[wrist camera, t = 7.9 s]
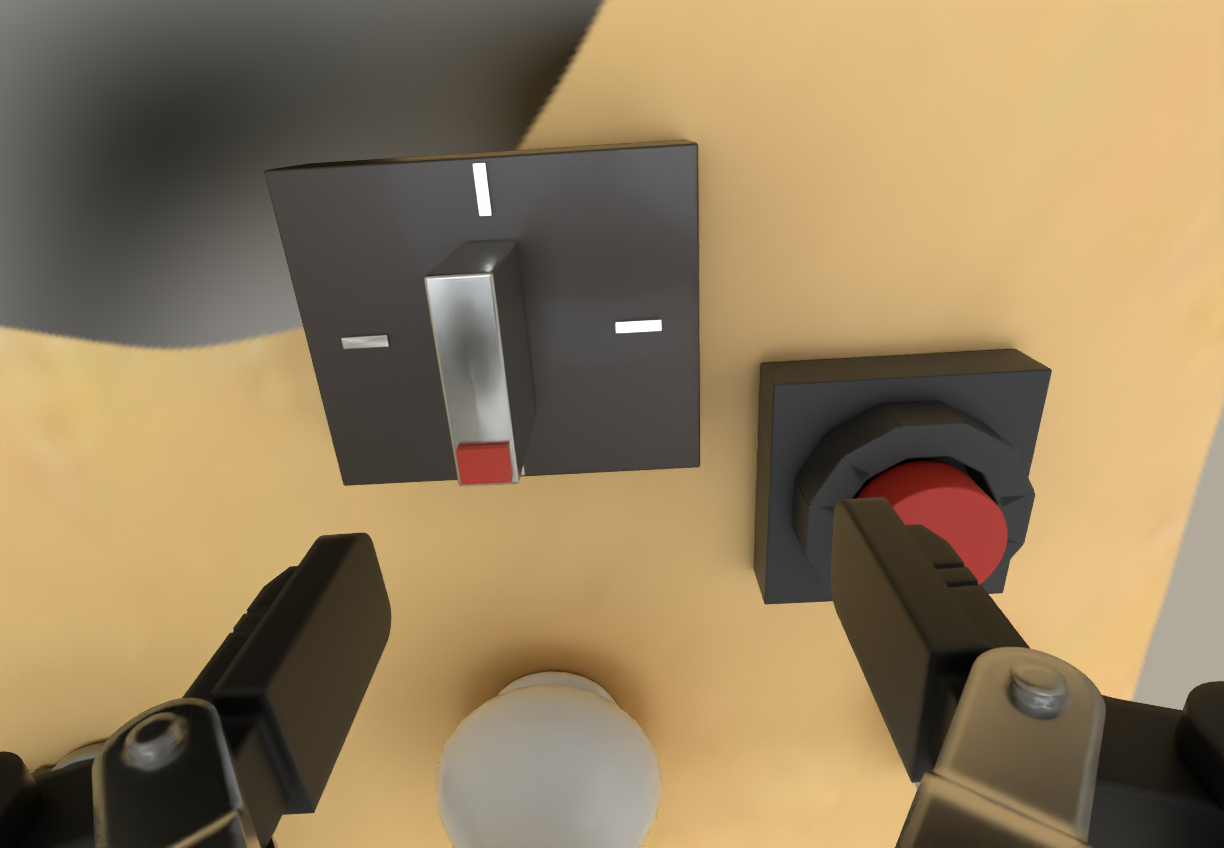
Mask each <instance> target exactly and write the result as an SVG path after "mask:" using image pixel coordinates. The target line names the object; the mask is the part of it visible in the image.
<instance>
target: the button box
mask: <svg viewBox="0 0 1224 848" xmlns="http://www.w3.org/2000/svg"><path fill="white" fill-rule="evenodd" d="M1051 372H1052V370H1051V369H1050V368H1048V367H1046V366H1044V365H1043V364H1041V363H1039V362H1038V361H1036V360H1034V359H1032V358H1031V357H1029V356H1027V355H1025V354H1024V353H1022V352H1020V351H1018V350H1017V349H1006V350H988V351H970V352H952V353H934V354H916V355H898V356H880V357H862V358H844V359H826V360H808V361H791V362H773V363H761V369H760V399H759V430H758V460H757V490H756V521H755V551H754V572H755V575H756V578H757V581H758V584H759V588H760V591H761V594H762V597H763V600H764V603H765V604H783V603H804V602H825V601H833V597H832V591H831V581H830V572H831V556H832V539H833V523H834V509H835V505H836V503H837V501H838V500H844V499H856V498H857V496H858V495H859V493H860V492H861V491H862V490H863V489H864V487H865V486H866V485H867V484H868V483H870V482H871V481H872V480H873V479H874V478H876V477H877V476H878V475H880V474H882V473H883V472H885V471H887V470H889V469H891V468H893V467H896V466H899V465H902V464H905V463H910V462H916V461H935V462H942V463H945V464H949V465H951V466H954V467H956V468H958V469H960V470H961V471H963V472H964V473H965V474H967V475H968V476H969V477H970V478H971V479H972V480H973V481H974V482H975V483H976V484H977V485H978V486H979V487H980V488H981V489H982V490H983V491H984V492H985V493H986V494H987V495H988V496H989V497H990V498H991V499H992V500H993V501H994V502H995V503H996V505H997V506H998V507H999V508H1000V510H1001V512H1002V513H1003V515H1004V518H1005V520H1006V525H1007V535H1008V538H1007V545H1006V548H1005V552H1004V554H1003V556H1002V559H1001V561H1000V562H999V564H998V566H997V567H996V568H995V570H994V571H993V572H992V573H991V575H990V576H989V577H988V578H987V579H986V580H985V581H983V582H982V583H981V584H980V585H982V587H983V588H984V589H985V590H986V592H987V593H988V594H994V593H1003V590H1004V585H1005V581H1006V576H1007V572H1008V567H1009V562H1010V559H1011V558H1012V557H1013V556H1014V554H1015V553H1016V552H1017V551H1018V550H1019V549H1020V548H1021V547H1022V546H1023V543H1024V542H1025V537H1026V533H1027V528H1028V524H1029V520H1030V515H1031V511H1032V507H1033V502H1034V498H1035V493H1034V489H1033V487H1032V485H1031V483H1030V480H1029V478H1028V476H1029V472H1030V467H1031V463H1032V458H1033V454H1034V449H1035V445H1036V440H1037V435H1038V431H1039V426H1040V422H1041V417H1042V413H1043V408H1044V404H1045V399H1046V395H1047V390H1048V386H1049V381H1050V376H1051Z"/></svg>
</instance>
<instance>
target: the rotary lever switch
mask: <svg viewBox="0 0 1224 848" xmlns="http://www.w3.org/2000/svg"><path fill="white" fill-rule="evenodd" d="M265 177H266V180H267V185H268V189H269V193H270V197H271V201H272V204H273V209H274V212H275V216H276V220H277V224H278V228H279V232H280V236H281V240H282V244H283V248H284V252H285V256H286V259H287V264H288V268H289V272H290V275H291V279H292V283H293V287H294V291H295V295H296V299H297V303H298V307H299V311H300V315H301V318H302V323H303V327H304V331H305V335H306V338H307V342H308V346H309V350H310V354H311V358H312V362H313V366H314V370H315V374H316V378H317V382H318V386H319V390H320V394H321V398H322V401H323V405H324V409H325V413H326V417H327V421H328V425H329V429H330V433H331V437H332V441H333V445H334V449H335V453H336V457H337V461H338V465H339V468H340V472H341V476H342V480H343V484H344V485H345V486H347V485H366V484H385V483H404V482H423V481H443V480H458V477H457V471H456V465H455V459H454V453H453V447H452V441H451V436H450V430H449V424H448V418H447V412H446V406H445V400H444V394H443V388H442V382H441V377H440V371H439V365H438V359H437V353H436V347H435V341H434V335H433V329H432V323H431V318H430V312H429V306H428V300H427V294H426V288H425V282H424V277H425V276H426V275H427V274H428V273H429V272H430V271H431V270H433V269H434V268H435V267H436V266H437V265H438V264H440V263H441V262H442V261H443V260H444V259H445V258H447V257H448V256H449V255H450V254H451V253H452V252H454V251H455V250H456V249H457V248H458V247H459V246H461V245H462V244H463V243H470V242H488V241H505V240H516V241H517V243H518V250H519V260H520V269H521V278H522V287H523V296H524V305H525V314H526V323H527V332H528V341H529V350H530V359H531V368H532V377H533V387H534V396H535V405H536V418H535V422H534V426H533V429H532V433H531V437H530V441H529V445H528V449H527V453H526V457H525V461H524V465H523V469H522V473H521V476H538V475H557V474H577V473H596V472H615V471H634V470H653V469H672V468H691V467H700V353H699V192H698V144H697V143H695V142H691V141H688V140H670V141H654V142H639V143H623V144H607V145H592V146H576V147H560V148H545V149H529V150H513V151H498V152H482V153H467V154H451V155H435V156H420V157H404V158H389V159H373V160H357V161H342V162H325V163H310V164H303V165H296V166H290V167H283V168H277V169H271V170H266V171H265Z"/></svg>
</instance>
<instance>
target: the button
mask: <svg viewBox="0 0 1224 848" xmlns="http://www.w3.org/2000/svg"><path fill="white" fill-rule="evenodd" d="M872 497H885V498H886V499H887V500H888V501H889V503H890V504H891V505H892V507H893V508H894V510H895V511H896V513H897V514H898V515H899V517H900V518H901V520H902V521H903V523H904V524H905V525H915V524H922V525H923V526H925V527H926V528H928V529H929V530H931V531H932V532H934V533H935V534H937V535H939V536H940V537H942V538H943V539H945V540H946V541H948V542H949V544H950V545H951V546H952V548H953V549H954V550H955V551H956V553H957V554H958V555H959V557H960V558H961V559H962V561H963V562H964V566H965V567H968V568H969V570H970V571H971V572H972V574H973V575H974V576H975V577H976V579H977V580H978V585H980V584H981V583H982V582H983V581H985V580H986V579H987V578H988V577H989V576H990V575H991V573H992V572H993V571H994V570H995V568H996V567H997V566H998V564H999V562H1000V561H1001V559H1002V556H1003V554H1004V552H1005V548H1006V545H1007V538H1008V535H1007V525H1006V520H1005V518H1004V515H1003V513H1002V512H1001V510H1000V508H999V507H998V506H997V505H996V503H995V502H994V501H993V500H992V499H991V498H990V497H989V496H988V495H987V494H986V493H985V492H984V491H983V490H982V489H981V488H980V487H979V486H978V485H977V484H976V483H975V482H974V481H973V480H972V479H971V478H970V477H969V476H968V475H967V474H965V473H964V472H963V471H961V470H960V469H958V468H956V467H954V466H951V465H949V464H945V463H942V462H935V461H916V462H910V463H905V464H902V465H899V466H896V467H893V468H891V469H889V470H887V471H885V472H883V473H882V474H880V475H878V476H877V477H876V478H874V479H873V480H872V481H871V482H870V483H868V484H867V485H866V486H865V487H864V489H863V490H862V491H861V492H860V493H859V495H858V496H857V498H856V499H858V498H872Z"/></svg>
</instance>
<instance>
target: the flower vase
mask: <svg viewBox="0 0 1224 848" xmlns="http://www.w3.org/2000/svg"><path fill="white" fill-rule="evenodd" d="M661 779H662V777H661V771H660V767H659V763H658V759H657V755H656V751H655V749H654V747H653V745H652V743H651V742H650V740H649V739H648V737H647V736H646V734H645V733H644V731H643V730H642V728H641V727H640V726H639V724H638V723H637V722H636V721H635V720H634V719H633V718H632V717H631V716H630V715H628V714H627V713H626V712H625V711H624V710H622V709H621V708H620V707H619V706H618V705H617V704H616V702H615V701H614V699H613V698H612V696H611V695H610V693H608V692H607V691H606V690H605V689H604V688H602V687H601V686H600V685H599V684H597V683H595V682H593V681H591V680H589V679H587V678H585V677H583V676H579V675H575V674H571V673H567V672H550V671H547V672H541V673H535V674H529V675H527V676H524V677H522V678H519V679H517V680H514V681H513V682H512V683H510V684H509V685H507V686H506V687H505V688H503V689H502V690H501V691H500V692H499V694H498V695H497V696H495V697H493V698H491V699H490V700H488V701H487V702H485V703H484V704H482V705H481V706H480V707H478V708H477V709H476V710H474V711H473V712H471V713H470V714H469V715H467V716H466V717H465V718H464V719H463V720H462V721H461V722H460V724H459V725H458V726H457V728H456V729H455V730H454V732H453V733H452V734H451V735H450V737H449V738H448V740H447V741H446V743H445V745H444V748H443V751H442V754H441V758H440V761H439V764H438V767H437V772H436V791H437V804H438V814H439V818H440V821H441V823H442V826H443V828H444V830H445V832H446V834H447V836H448V839H449V841H450V843H451V845H452V847H453V848H641V847H642V845H643V843H644V841H645V839H646V837H647V836H648V834H649V832H650V830H651V828H652V826H653V824H654V822H655V819H656V815H657V811H658V805H659V798H660V789H661Z"/></svg>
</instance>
